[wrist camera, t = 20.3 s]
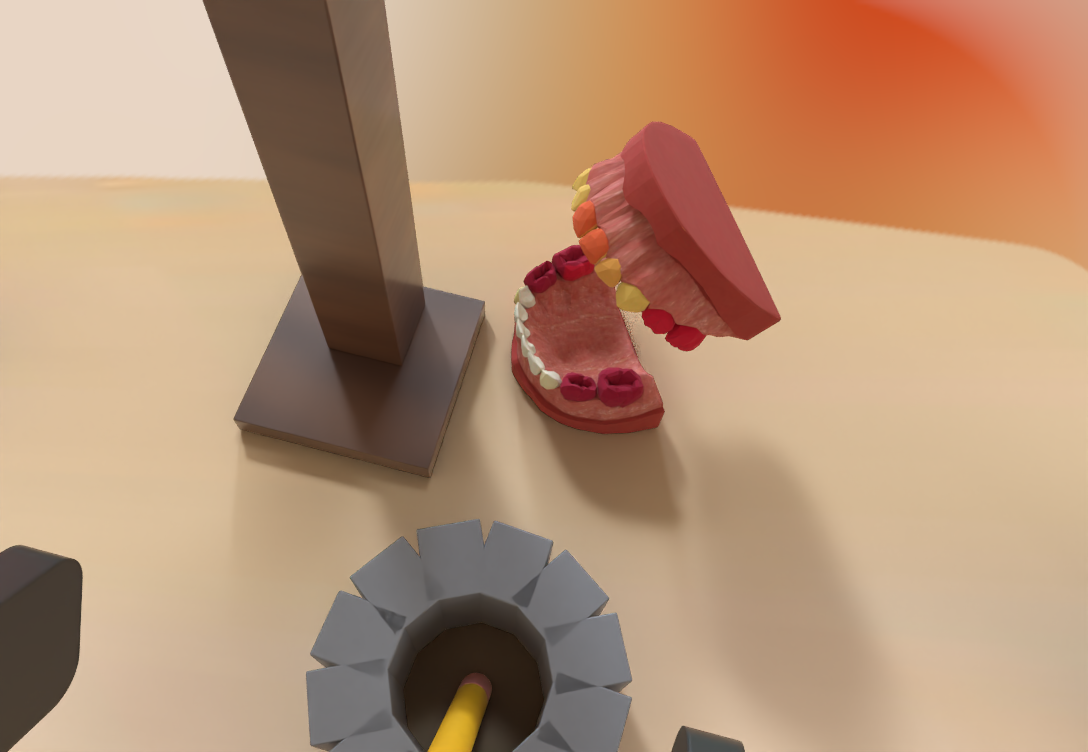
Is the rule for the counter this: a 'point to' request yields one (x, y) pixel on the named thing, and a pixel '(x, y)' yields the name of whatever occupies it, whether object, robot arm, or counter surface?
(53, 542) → the counter surface
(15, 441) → the counter surface
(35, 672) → the robot arm
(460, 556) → the grey segmented ring
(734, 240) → the anatomical model
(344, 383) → the brown pedestal stand
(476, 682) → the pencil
